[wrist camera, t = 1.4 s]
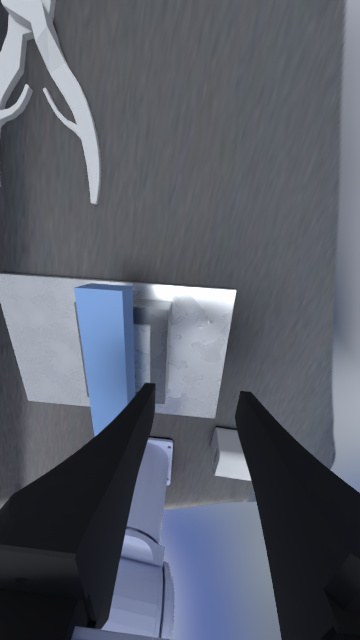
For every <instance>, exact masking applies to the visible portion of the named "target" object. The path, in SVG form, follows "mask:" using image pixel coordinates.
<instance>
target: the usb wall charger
mask: <svg viewBox="0 0 360 640" xmlns="http://www.w3.org/2000/svg"><path fill="white" fill-rule="evenodd" d="M211 455H212V465H213V473H214V475H216V476H222V477H229V478H235V479H242V480H249V481H251V477H250V474H249V470H248V467H247V464H246V460H245V457H244V453H243V450H242V447H241V443H240V440H239V436H238V432H237V430H231V429H224V428H217V427H215V431H214V434H213V438H212V442H211Z"/></svg>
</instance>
